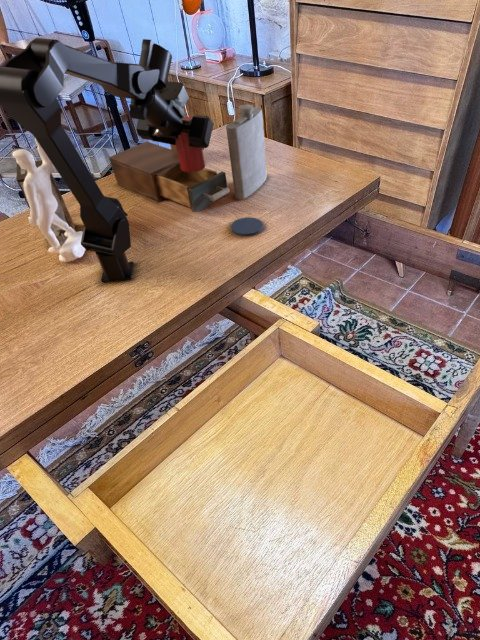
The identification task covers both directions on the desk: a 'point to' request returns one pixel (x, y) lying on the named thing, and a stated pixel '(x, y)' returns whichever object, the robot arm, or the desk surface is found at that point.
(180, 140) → the can
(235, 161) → the hip flask
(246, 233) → the mat
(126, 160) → the cabinet
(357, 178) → the desk surface
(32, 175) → the figurine
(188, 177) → the drawer
